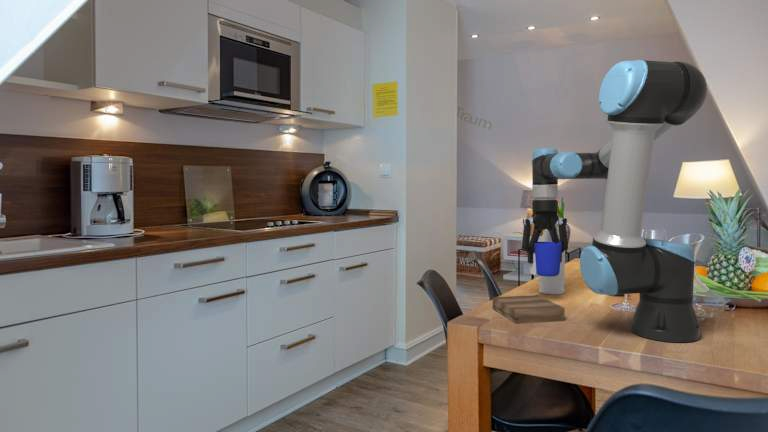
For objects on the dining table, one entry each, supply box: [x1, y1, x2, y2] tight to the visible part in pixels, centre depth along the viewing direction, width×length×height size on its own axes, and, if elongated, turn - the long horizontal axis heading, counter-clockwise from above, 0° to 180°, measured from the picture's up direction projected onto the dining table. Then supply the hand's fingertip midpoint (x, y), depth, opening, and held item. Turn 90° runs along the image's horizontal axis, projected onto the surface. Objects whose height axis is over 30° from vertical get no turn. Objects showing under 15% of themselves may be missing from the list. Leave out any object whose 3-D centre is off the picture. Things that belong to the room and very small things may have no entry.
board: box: [492, 294, 565, 324], centre depth 153 cm, size 16×14×4 cm
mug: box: [534, 241, 562, 277], centre depth 167 cm, size 8×12×10 cm
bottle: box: [538, 221, 566, 295], centre depth 181 cm, size 8×8×30 cm
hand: (544, 273), depth 167 cm, fingers closed on mug, 7 cm apart
